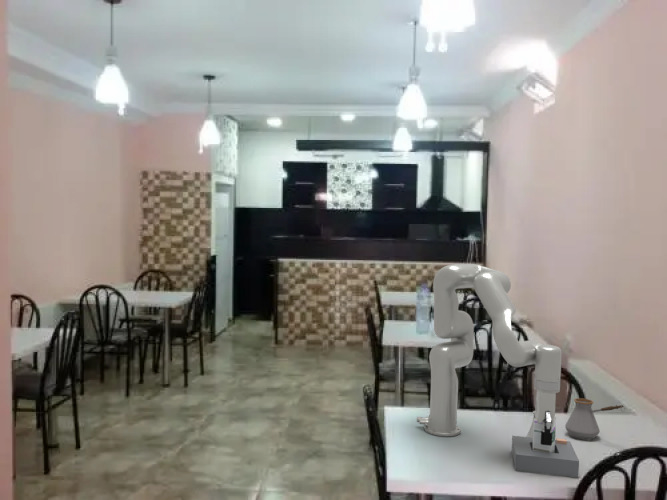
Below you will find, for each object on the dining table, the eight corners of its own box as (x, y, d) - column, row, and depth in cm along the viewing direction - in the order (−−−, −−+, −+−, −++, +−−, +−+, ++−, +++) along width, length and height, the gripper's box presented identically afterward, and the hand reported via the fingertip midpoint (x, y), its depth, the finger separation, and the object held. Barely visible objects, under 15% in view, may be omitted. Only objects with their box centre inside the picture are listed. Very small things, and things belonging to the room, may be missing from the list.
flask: (548, 445, 218) (549, 416, 217) (526, 443, 219) (527, 414, 219) (546, 438, 225) (547, 410, 224) (524, 436, 226) (525, 408, 226)
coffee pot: (557, 433, 231) (560, 392, 230) (578, 429, 237) (580, 389, 236) (611, 452, 213) (613, 408, 212) (632, 447, 219) (634, 403, 218)
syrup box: (550, 468, 197) (552, 421, 196) (530, 464, 200) (533, 418, 199) (554, 462, 201) (556, 417, 201) (535, 458, 204) (537, 413, 204)
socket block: (515, 470, 194) (516, 451, 193) (511, 450, 211) (512, 432, 211) (578, 477, 190) (579, 457, 190) (569, 456, 207) (570, 438, 207)
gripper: (532, 378, 209) (529, 430, 209) (537, 391, 192) (534, 447, 193) (556, 380, 207) (553, 432, 208) (563, 393, 190) (560, 450, 191)
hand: (544, 439), depth 200 cm, fingers open, 9 cm apart
